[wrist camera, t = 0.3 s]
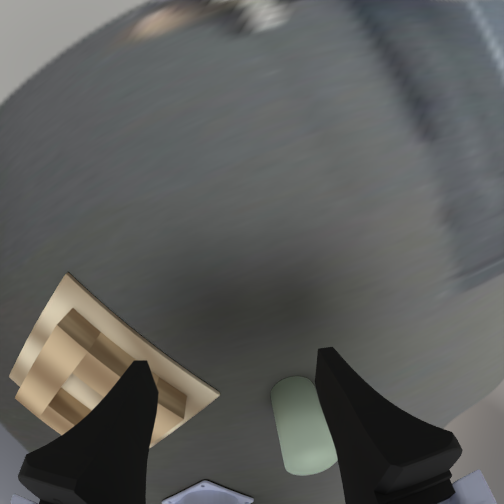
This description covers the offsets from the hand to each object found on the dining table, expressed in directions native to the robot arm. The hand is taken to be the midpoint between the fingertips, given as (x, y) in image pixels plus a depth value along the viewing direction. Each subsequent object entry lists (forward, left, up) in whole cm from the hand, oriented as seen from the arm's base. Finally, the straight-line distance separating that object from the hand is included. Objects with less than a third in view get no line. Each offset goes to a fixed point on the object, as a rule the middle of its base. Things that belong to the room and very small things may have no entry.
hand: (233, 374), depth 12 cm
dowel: (-4, -11, -11) cm, 16 cm away
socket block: (-16, +2, -11) cm, 19 cm away
